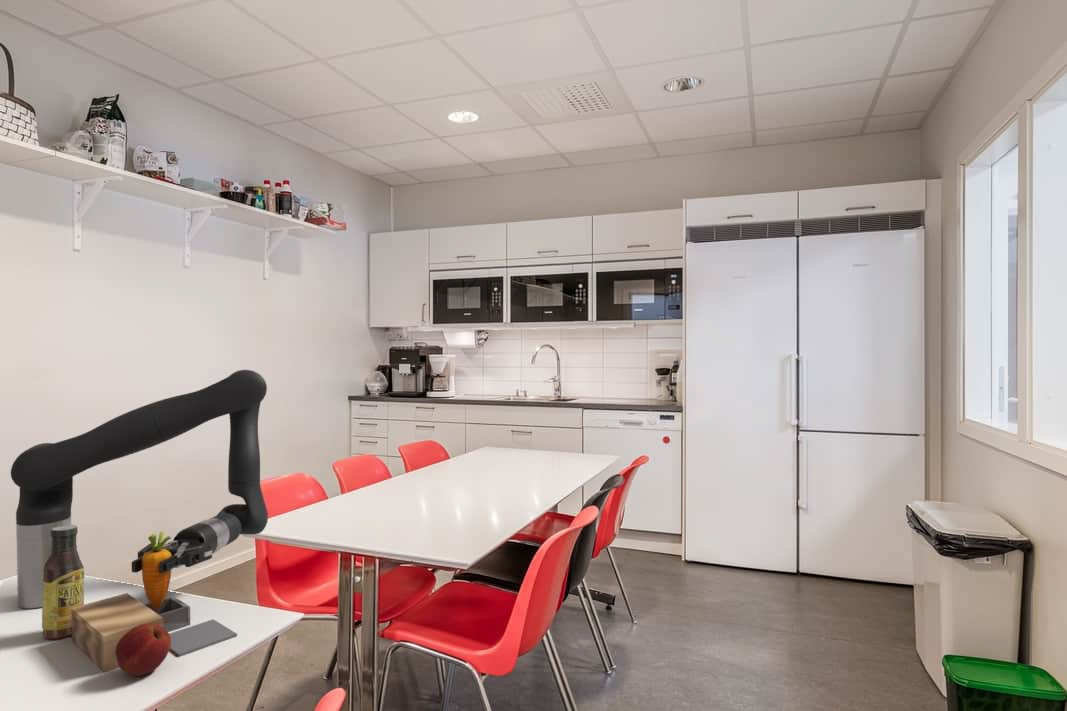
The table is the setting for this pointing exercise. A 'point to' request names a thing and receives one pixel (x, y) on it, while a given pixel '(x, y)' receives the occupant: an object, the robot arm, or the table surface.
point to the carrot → (155, 571)
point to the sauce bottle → (62, 583)
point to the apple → (143, 649)
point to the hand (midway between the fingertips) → (147, 567)
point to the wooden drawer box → (120, 624)
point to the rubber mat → (199, 637)
